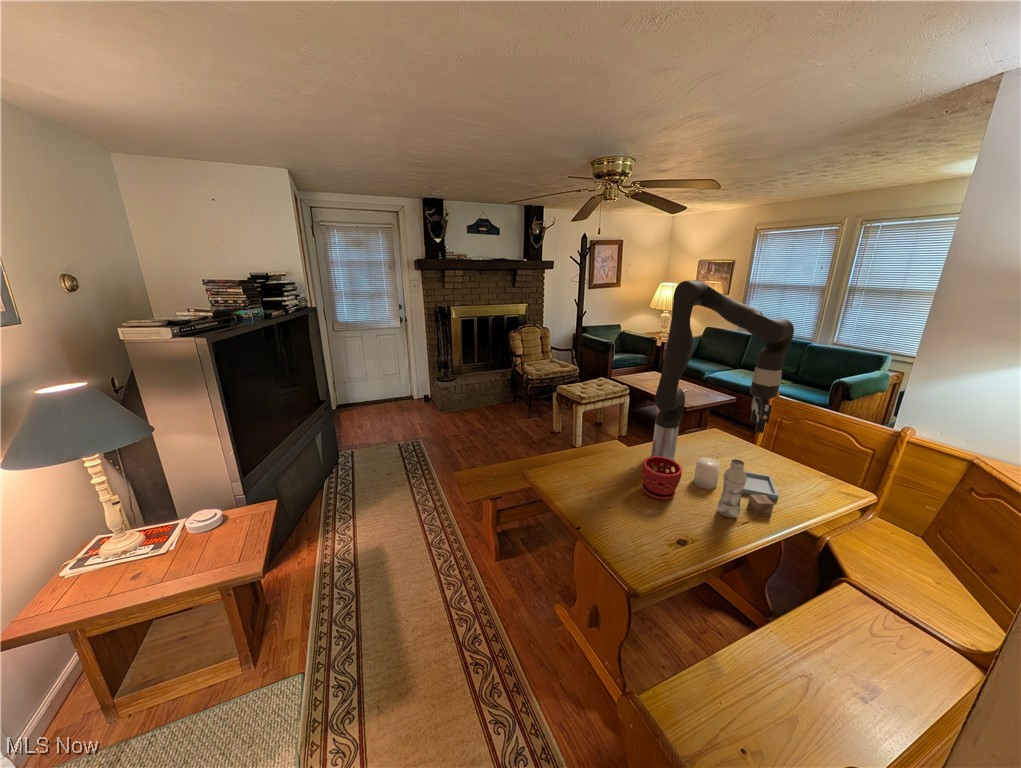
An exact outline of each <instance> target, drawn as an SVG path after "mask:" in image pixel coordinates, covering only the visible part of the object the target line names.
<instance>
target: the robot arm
mask: <svg viewBox="0 0 1021 768" xmlns="http://www.w3.org/2000/svg"><path fill="white" fill-rule="evenodd" d="M695 306H698V307H703V308H706V309H709V310H712V311H714V312H715V313H717V314H718V315H719V316H720V317H721V318H723V319H724V320H725V321H727V322H728V323H730V324H732V325H734V326H737V327H738V328H740V329H743V330H745V331H747V332H748V333H749V334H751V335H752V336H753V337H755V338H756V339H758V340H759V341H762V342H764V343H765V345H764V347H763V348H762V349H760V351H759V352H758V354H757V358H756V364H755V368H754V371H753V374H752V380H751V384H750V385H751V386H750V390H749V393H750V394H751V395H752V399H751V405H750V408H751V416H750V422H751V423H752V424H753V423H755V424H756V426H755V433H759V434H763V433H764V432H765V427H766V424H769V422H770V417H771V411H772V408H773V405H772V404H771V402H770V400H771V399H776V398H777V397H778V394H779V390H780V385H781V381H782V380H781V379H782V373H783V372H782V371H783V366H784V362H785V357H786V354H787V352H788V350H789V347H790V345H791V343H792V340H793V337H794V332H795V328H794V324H793V322H792V321H790V320H789V319H786V318H778V319H772V318H768V317H767V316H765V315H764V314H763V312H762V311H760V310H758V309H757V308H754V307H752V306H749V305H748V304H744V303H743V302H740V301H737V300H735V299H733V298H731V297H728V296H727V295H725V294H723V293H721V292H719V291H717V290H716V289H715V288H713V287H712V286H710V285H709V284H707V283H706V282H705V281H701V280H697V279H694V280H693V279H692V280H683V281H681V282H679V283H678V284H677V285H676V287H675V289H674V291H673V297H672V309H671V310H672V311H671V320H670V326H669V332H668V337H667V338H668V339H667V341H666V342H667V343H666V347H665V351H664V357H663V358H664V359H663V363H662V368H661V375H660V379H659V382H658V385H657V387H656V388H657V389H656V391H655V395H654V403H655V406H656V407H657V409H658V410H659V412H658V414H656V417H655V423H654V432H653V439H652V445H651V446H652V447H651V454H650V457H653V456H660V457H665V458H669V459H671V460H673V461H675V457H676V451H677V450H676V449H677V443H678V434H679V427H680V424H681V423H680V422H681V421H682V419H683V415H684V410H685V403H686V395H685V393H684V390H683V389H682V388H681V387H680V386H679V383H680V380H681V377H682V375H683V373H684V371H685V370H686V368H687V366H688V364H689V362H690V360H691V356H692V351H693V347H694V336H693V331H692V327H691V317H692V311H693V308H694V307H695ZM763 417H764V418H763ZM660 465H661V466H664V464H663V463H661V464H660ZM667 467H669V465H667Z"/></svg>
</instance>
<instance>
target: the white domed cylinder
mask: <svg viewBox="0 0 1021 768" xmlns="http://www.w3.org/2000/svg"><path fill="white" fill-rule="evenodd" d="M720 470H721V463H720V461H718V460H716V459H714V458H711V457H705V456H704V457H703V456H701V457H698V458H697V459H696V464H695V469H694V476H693V482H694V484H695V485H696V486H697V487H699V488H702V489H706V490H712V489H713V490H714V489H716V488H717V487H718V480H719V475H720Z"/></svg>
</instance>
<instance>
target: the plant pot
mask: <svg viewBox="0 0 1021 768" xmlns="http://www.w3.org/2000/svg"><path fill="white" fill-rule="evenodd" d="M661 463H663V464H664V466H663V465H660V464H661ZM667 465H669V466H667ZM654 467H657V469H656V470H655V469H653V468H654ZM672 467H673V468H674V471H673V470H672ZM667 470H668V471H667ZM682 474H683V468H682V467H681V465H680V464H679V463H678V462H677V461H675V460H674V461H673V460H671V459H669V458H665V457H660V456H653V457H651V456H649V457H647V458H645V459H644V461H643V463H642V475H641V476H642V481H643V482H642V485H641V488H642V491H643V493H645V494H646V495H647V496H649V497H650V498H653V499H656V500H662V501H663V500H665V501H666V500H667V501H668V500H670V499H672V498H674V497H675V495H676V489H677V487H679V484H680V481H681V479H682Z"/></svg>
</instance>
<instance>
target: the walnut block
mask: <svg viewBox="0 0 1021 768" xmlns="http://www.w3.org/2000/svg"><path fill="white" fill-rule="evenodd" d="M774 505H775V504H774V502H773V500H770V499H769V498H768V497H767V496H766V495H751V494H750V496H748V502H747V508H748V509H749V510H750V512H751V513H752V514H753V515H754V516H755V517H772V512H773V509H774Z"/></svg>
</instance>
